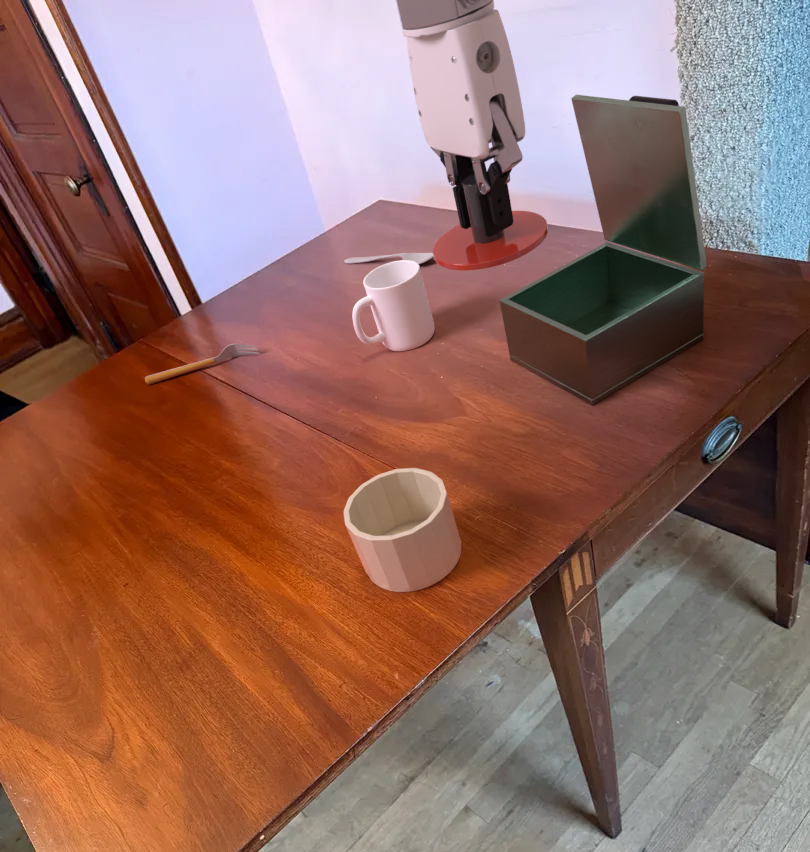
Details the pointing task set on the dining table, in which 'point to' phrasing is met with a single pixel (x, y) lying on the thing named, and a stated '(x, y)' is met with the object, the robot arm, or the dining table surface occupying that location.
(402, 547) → the pot
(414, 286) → the cup
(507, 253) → the pot lid
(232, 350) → the fork
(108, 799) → the dining table surface
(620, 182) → the box lid
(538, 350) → the open box
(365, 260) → the spoon
